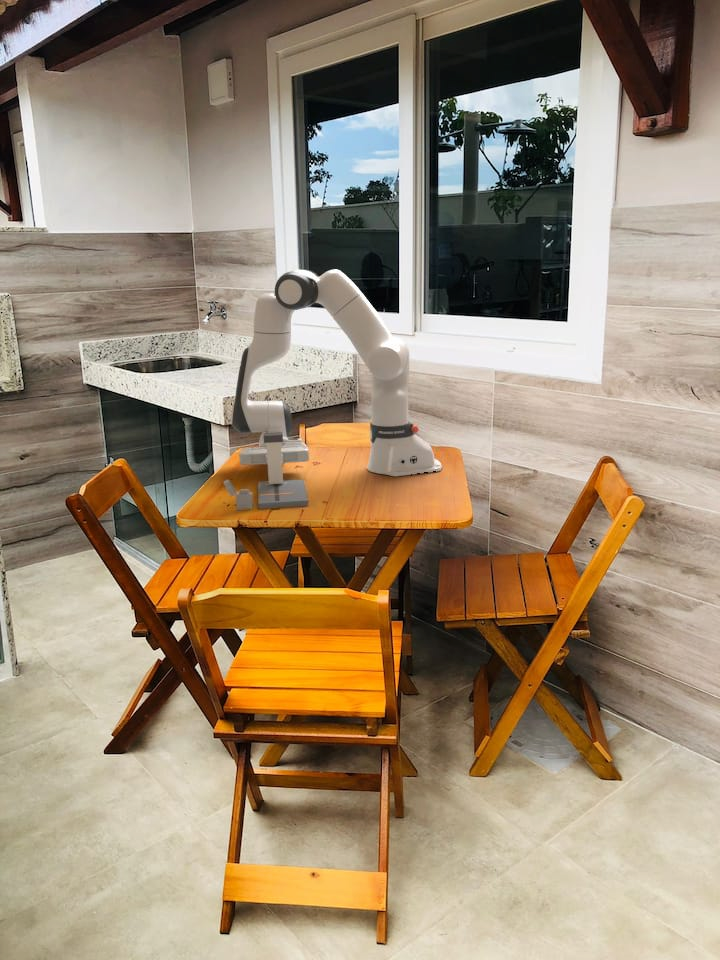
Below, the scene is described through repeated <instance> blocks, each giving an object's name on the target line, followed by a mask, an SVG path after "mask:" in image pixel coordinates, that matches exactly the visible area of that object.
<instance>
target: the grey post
mask: <svg viewBox="0 0 720 960" xmlns="http://www.w3.org/2000/svg"><path fill="white" fill-rule="evenodd" d="M281 442H283V434H282V432H272V433H264V443H266V446H267V462H268V464H267V474H268V475H267V476H268V481H269V484H281V483H283V481H284V473H283V471H284V470H283V464H282V453H281Z"/></svg>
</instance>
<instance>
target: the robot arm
mask: <svg viewBox="0 0 720 960" xmlns="http://www.w3.org/2000/svg"><path fill="white" fill-rule="evenodd" d="M314 304H319V305H321V306H322V307H323V308H324V309H325V310H326V311H327V312H328V314H330V316H331V317H332V319H333V320H334V321H335V322H336V324H337V325H338V326H339V328H341V330H342V331H343V333H344V334H345V335H346V337H347V338H348V339H349V341H350V342H351V343H352V345H353V347H354V349H355V351H356V352H357V354H358V355H359V357H360V358H361V360H362V361H363V363H364V365H365V366H366V368H367V369H368V370H369V372H370V374H371V375H372V376H371V395H370V409H371V410H370V412H371V414H370V415H371V419H370V420H371V422H370V424H369V425H370V427H369V440H370V442H371V443H370V444H371V445H370V452H369V453H370V454H369V460H368V463H367V470H368V471H369V472H370V473H375V474H378V475H379V474H380V475H388V476H391V477H401V476H410V475H411V474H412V475H418V474H417V473H420V474H425V473H424V472H428V473H433V471H436V472H440V471H442V469H441V468H443V466H442V463H441V462H440V461H439V460H438V459H436V458H435V455H434V450H433V449H432V446H431V445H430V444H429V443H427V442H426V441H425V440H424V439H423V438H421V437H419V436H418V435H416V433H418V432H419V427H418V425H416V424H414V423H412V422H410V421H409V382H410V350H409V348H408V345H407V344H406V343H405V342H404V340H402V339H401V338H399V337H395V336H393V335H392V333H391V332H390V331H389V329H388V327H387V326H386V324H385V323H384V321H383V319H382V318H381V315H380V314H379V313H378V312H377V310H376V309H375V307H373V305H372V303H370V301H369V299H367V297H366V296H365V295H364V293H363V292H362V291H361V290H360V288H359V287H358V286H357V285H356V284H355V283H354V282H353V281H352V280H351V278H349V277H348V276H347V275H346V274H345V273H344V272H342V271H341V270H339V269H330V270H327V271H325V272H324V273H322V274H321V275H320V276H319V275H318V274H317V273H315V272H314V271H313V270H310V269H305V268H303V269H292V270H290V271H287V272H285V273H283V274H282V275H281V276H279V278H278V279H277V281H276V283H275V285H274V292H267V293H264V294H262V295H260V296H259V297H258V298H257V301H256V304H255V308H254V309H255V310H254V317H253V336H252V337H253V338H252V340H251V343H250V344H249V346H248V347H246V348H245V349H243V352H242V355H241V361H240V365H239V369H238V375H237V382H236V388H235V397H234V401H233V405H232V407H231V411H230V417H229V418H230V419H229V420H230V424H231V427H232V428H233V429H234V430H235V431H236V432H238V433H239V434H252V433H261V435H260V437H259V441H258V443H259V444H258V445H259V446H258V447H246V448H243V449H241V450H240V452H239V453H238V457H239V465H240V466H256V465H257V466H259V465H268V462H267V446H266V443H264V433H272V432H282V434H283V442H281V453H282V465H283V464H288V463H302V462H303V463H305V462H309V461H310V451H309V447H308V446H307V444H306V443H304V442H303V438H299V437H298V438H296V437H289V436H290V435H291V433H292V430H293V417H292V416H293V415H292V411H291V409H290V406H289V405H288V403H287V402H285V401H284V400H250V398H249V394H250V388H251V382H252V376H253V374H254V373H255V372H256V371H257V370H258V369H260V368H261V367H264V366H267V365H269V364H273V363H275V362H277V361H279V360H280V359H282V358H283V357H285V356H286V354H287V353H289V350H290V347H291V340H292V316H293V313H294V312H295V311H297V310H303V309H306V308H309V307H310V306H313V305H314Z"/></svg>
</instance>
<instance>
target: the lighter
mask: <svg viewBox="0 0 720 960" xmlns="http://www.w3.org/2000/svg"><path fill="white" fill-rule="evenodd" d="M222 483H223V486H224V487H225V488H226V491H227V492H228V494H229V495H230V496H231V497H234V496H235V501H236V504H235V505H236V510H237V511H244V510H245V511H246V509H252V510H253V509H254V499H253V491H250V490H249V489H248V488H242V489H239V492H238V491H236V489H235V488H234V486H233V484H232V483H231V481H230V479H226V480H224V481H223V482H222ZM243 509H244V510H243Z"/></svg>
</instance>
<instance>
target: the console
mask: <svg viewBox="0 0 720 960" xmlns="http://www.w3.org/2000/svg"><path fill="white" fill-rule="evenodd" d="M257 484H258V485H257V489H258V490H257V492H258V493H257V494H258V495H257V497H258V498H257V499H258V500H257V501H258V502H257V504H258V510H264V509H266V508H267V509H280V508H279V507H283V508H294V507H295V506H298V507H307V506H306V505H308V506H309V499H308V498H309V497H308V494H307V488H306V483H305V479H302V478H301V479H289V480H288V479H286V480H284V479H283V483H281V484H269V480H268V481H258V483H257Z"/></svg>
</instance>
